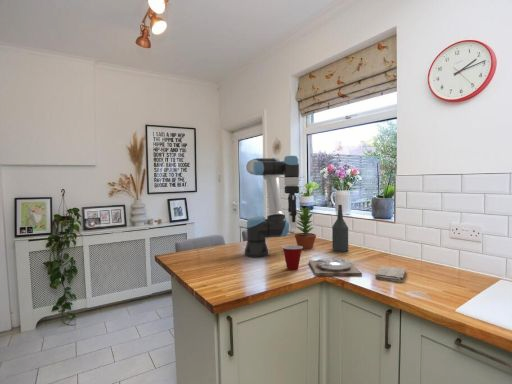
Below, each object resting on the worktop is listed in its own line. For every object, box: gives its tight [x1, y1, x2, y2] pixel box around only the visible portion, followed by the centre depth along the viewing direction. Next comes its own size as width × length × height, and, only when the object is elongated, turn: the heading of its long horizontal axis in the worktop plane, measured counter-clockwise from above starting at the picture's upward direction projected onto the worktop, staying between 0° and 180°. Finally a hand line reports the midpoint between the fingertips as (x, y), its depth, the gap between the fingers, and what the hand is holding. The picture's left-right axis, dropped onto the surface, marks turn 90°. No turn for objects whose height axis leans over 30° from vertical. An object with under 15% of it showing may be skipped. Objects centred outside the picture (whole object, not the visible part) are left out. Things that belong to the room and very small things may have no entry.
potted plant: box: [294, 204, 317, 250], centre depth 198 cm, size 15×15×30 cm
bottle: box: [331, 204, 349, 253], centre depth 189 cm, size 10×10×30 cm
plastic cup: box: [281, 244, 303, 271], centre depth 151 cm, size 11×11×12 cm
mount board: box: [308, 257, 363, 277], centre depth 149 cm, size 22×22×4 cm
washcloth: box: [374, 265, 406, 283], centre depth 138 cm, size 12×18×3 cm, turn 150°
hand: (292, 226), depth 150 cm, fingers open, 13 cm apart
